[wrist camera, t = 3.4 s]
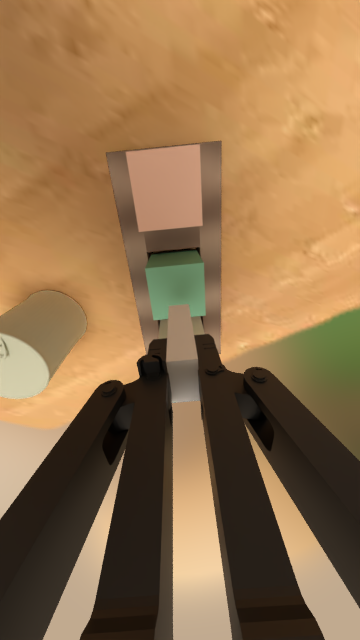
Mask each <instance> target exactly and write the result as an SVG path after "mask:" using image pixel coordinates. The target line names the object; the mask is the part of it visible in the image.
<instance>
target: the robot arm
mask: <svg viewBox="0 0 360 640" xmlns="http://www.w3.org/2000/svg"><path fill="white" fill-rule="evenodd" d="M137 367H138V371H139V375H140V378H139V379H138V380H136V381H134V382H132V383H129V384H126V385H123V383H121V382H120V381H117V380H110V381H107V382H104V383H103V384H101V385H100V386H99V387H98V388H97V389H96V390H95V391H94V393H93V394H92V395H91V397H90V398H89V399H88V401H87V402H86V404H85V405H84V406H83V408H82V409H81V410H80V412H79V413H78V414H77V416H76V417H75V419H74V420H73V421H72V423H71V424H70V425H69V427H68V428H67V430H66V431H65V432H64V434H63V435H62V436H61V438H60V439H59V440H58V442H57V443H56V444H55V446H54V447H53V449H52V450H51V451H50V453H49V454H48V455H47V457H46V458H45V459H44V461H43V462H42V464H41V465H40V466H39V468H38V469H37V470H36V472H35V473H34V475H33V476H32V477H31V479H30V480H29V481H28V483H27V484H26V485H25V487H24V488H23V490H22V491H21V492H20V494H19V495H18V496H17V498H16V499H15V500H14V502H13V503H12V504H11V506H10V507H9V509H8V510H7V511H6V513H5V514H4V515H3V517H2V518H1V520H0V640H43V637H44V635H45V633H46V631H47V628H48V626H49V624H50V621H51V619H52V617H53V614H54V612H55V610H56V607H57V605H58V603H59V601H60V598H61V596H62V594H63V591H64V589H65V587H66V584H67V582H68V580H69V577H70V575H71V573H72V570H73V568H74V566H75V563H76V561H77V559H78V557H79V554H80V552H81V550H82V547H83V545H84V543H85V541H86V538H87V536H88V534H89V531H90V529H91V527H92V524H93V522H94V520H95V517H96V515H97V513H98V511H99V508H100V506H101V504H102V501H103V499H104V497H105V494H106V492H107V490H108V487H109V485H110V483H111V481H112V478H113V476H114V473H115V471H116V469H117V466H118V464H119V462H120V460H121V457H122V455H123V453H124V451H125V454H124V459H123V464H122V469H121V474H120V479H119V484H118V489H117V494H116V499H115V504H114V509H113V514H112V519H111V524H110V529H109V534H108V539H107V545H106V550H105V554H104V560H103V565H102V570H101V575H100V580H99V585H98V590H97V595H96V600H95V604H94V608H93V612H92V615H91V618H90V620H89V622H88V624H87V626H86V627H85V629H84V631H83V633H82V634H81V637H80V640H173V411H172V403H176V402H188V401H201V416H202V420H203V427H204V434H205V441H206V449H207V456H208V463H209V471H210V478H211V485H212V492H213V500H214V507H215V515H216V522H217V528H218V537H219V543H220V551H221V558H222V566H223V572H224V580H225V587H226V595H227V601H228V608H229V617H230V624H231V632H232V640H325V639H324V637H323V634H322V632H321V630H320V628H319V626H318V623H317V621H316V619H315V617H314V616H313V615H312V613H311V611H310V610H309V608H308V607H307V605H306V604H305V601H304V599H303V597H302V595H301V592H300V589H299V587H298V584H297V581H296V578H295V575H294V572H293V569H292V566H291V563H290V560H289V557H288V554H287V551H286V548H285V545H284V541H283V539H282V536H281V532H280V529H279V526H278V524H277V520H276V518H275V514H274V512H273V508H272V505H271V503H270V499H269V496H268V493H267V491H266V487H265V484H264V481H263V478H262V475H261V472H260V469H259V466H258V463H257V460H256V457H255V454H254V451H253V448H252V445H251V442H250V439H249V436H248V433H247V430H246V427H245V425H246V426H247V428H248V429H249V431H250V433H251V434H252V436H253V437H254V439H255V441H256V442H257V444H258V445H259V447H260V449H261V450H262V452H263V454H264V455H265V457H266V458H267V460H268V462H269V463H270V465H271V466H272V468H273V470H274V471H275V473H276V474H277V476H278V478H279V479H280V481H281V483H282V484H283V486H284V487H285V489H286V490H287V492H288V494H289V495H290V497H291V499H292V500H293V501H294V503H295V505H296V506H297V508H298V510H299V511H300V513H301V515H302V516H303V518H304V520H305V521H306V523H307V524H308V526H309V528H310V529H311V531H312V532H313V534H314V535H315V537H316V539H317V540H318V542H319V544H320V545H321V547H322V548H323V550H324V552H325V553H326V554H327V556H328V558H329V560H330V561H331V563H332V564H333V566H334V568H335V569H336V571H337V572H338V574H339V576H340V577H341V579H342V580H343V582H344V584H345V585H346V587H347V589H348V590H349V592H350V593H351V595H352V597H353V598H354V600H355V601H356V603H357V605H358V606H359V608H360V461H359V460H358V459H357V458H356V457H355V456H354V455H353V454H352V453H351V452H350V451H349V450H348V449H347V448H346V447H345V446H344V445H343V444H342V443H341V442H340V441H339V440H338V439H337V438H336V437H335V436H334V435H333V434H332V433H331V432H330V431H329V430H328V429H327V428H326V427H325V426H324V425H323V424H322V423H321V422H320V421H319V420H318V419H317V418H316V417H315V416H314V415H313V414H312V413H311V412H310V411H309V410H308V409H307V408H306V407H305V406H304V405H303V404H302V403H301V402H300V401H299V400H298V399H297V398H296V397H295V396H294V395H293V394H292V393H291V392H290V391H289V390H288V389H287V388H286V387H285V386H284V385H283V384H282V383H281V382H280V381H279V380H278V379H277V378H276V377H275V376H274V375H273V374H272V373H271V372H270V371H268V370H266V369H264V368H260V367H252V368H249V369H247V370H246V371H245V372H244V374H241V373H235V372H231V371H229V370H227V369H226V368H225V366H224V365H222V363H221V360H220V357H219V354H218V350H217V348H216V344H215V341H214V338H213V337H212V336H211V335H210V334H202V335H194V332H193V326H192V320H191V314H190V308H189V304H184V305H173V306H169V311H168V332H167V338H163V339H153V340H152V342H151V343H150V344H149V348H148V354H147V355H145V356H142V357H141V358H140V359H139V360H138V362H137ZM244 423H245V424H244ZM125 448H126V449H125Z"/></svg>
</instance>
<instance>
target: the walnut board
mask: <svg viewBox="0 0 360 640" xmlns="http://www.w3.org/2000/svg"><path fill="white" fill-rule="evenodd" d="M197 144H200V162H201V192H202V221H203V226H195V227H185V228H174V229H164V230H154V231H144V232H139V230H138V224H137V218H136V212H135V206H134V200H133V194H132V188H131V181H130V175H129V169H128V163H127V157H126V152H129V151H139V150H148V149H158V148H168V147H178V146H187V145H197ZM106 157H107V162H108V167H109V172H110V176H111V181H112V186H113V191H114V196H115V201H116V206H117V211H118V216H119V221H120V226H121V231H122V236H123V241H124V246H125V251H126V256H127V261H128V266H129V271H130V275H131V280H132V285H133V290H134V295H135V300H136V305H137V310H138V315H139V320H140V325H141V330H142V335H143V340H144V345H145V350H146V355H147V354H148V348H149V344H150V343H151V342H152V340H153V339H158V338H159V328H160V320H153V314H152V308H151V302H150V296H149V290H148V284H147V278H146V272H145V267H146V265H147V263H148V261H149V258H150V256H151V252H155V251H165V250H175V249H186V248H196V247H197V252H198V254H199V255H200V257H201V259H202V260H203V262H204V280H205V310H206V316H200V317H201V321H202V325H203V329H204V333H205V334H210V335H211V336H212V337H213V338H214V341H215V344H216V348H217V350H218V354H221V141H214V142H204V143H195V144H185V145H175V146H165V147H156V148H146V149H136V150H127V151H117V152H107V153H106Z"/></svg>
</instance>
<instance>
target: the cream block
mask: <svg viewBox="0 0 360 640" xmlns="http://www.w3.org/2000/svg"><path fill="white" fill-rule="evenodd" d="M191 320H192V326H193V332H194V335H202V334H205V333H204V329H203V325H202V321H201V317H200V316H195V317H191ZM167 332H168V319H163V320H160V328H159V338H158V339H163V338H167Z"/></svg>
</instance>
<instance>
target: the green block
mask: <svg viewBox="0 0 360 640" xmlns="http://www.w3.org/2000/svg"><path fill="white" fill-rule="evenodd" d="M145 272H146V278H147V284H148V290H149V296H150V302H151V308H152V314H153V320H163V319H168V311H169V306H173V305H184V304H189V308H190V314H191V317H195V316H206V310H205V280H204V262H203V260H202V259H201V257H200V255H199V254H198V252H197V250H186V251H176V252H165V253H155V254H151V256H150V258H149V261H148V263H147V265H146V267H145Z"/></svg>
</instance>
